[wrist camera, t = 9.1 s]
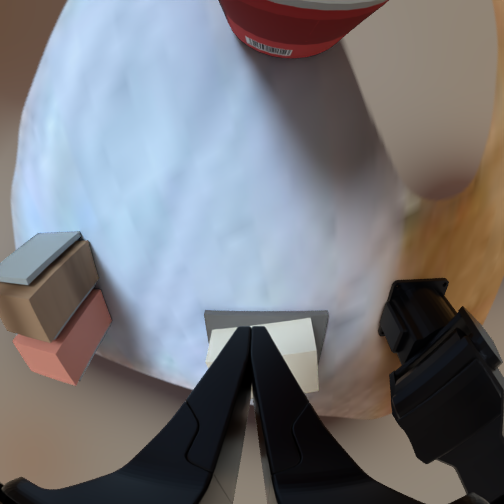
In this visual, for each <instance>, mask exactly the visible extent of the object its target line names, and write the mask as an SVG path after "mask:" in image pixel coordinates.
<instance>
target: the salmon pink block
mask: <svg viewBox="0 0 504 504" xmlns="http://www.w3.org/2000/svg"><path fill="white" fill-rule="evenodd" d="M111 322H112V319H111V317H110V314H109V312H108V309H107V306H106V303H105V300H104V298H103V295H102V292H101V289H92V290H91V292H90V293H89V294H88V296H87V297H86V298H85V299H84V301H83V302H82V303H81V305H80V306H79V307H78V309H77V310H76V311H75V313H74V314H73V315H72V317H71V318H70V320H69V321H68V322H67V324H66V325H65V327H64V328H63V329H62V331H61V332H60V334H59V335H58V337H57V338H56V339H55V340H53V341H52V342H51V343H48V342H45V341H41V340H37V339H33V338H30V337H26V336H23V335H20V334H17V336H16V337H15V338H14V339H13V343H14V344H15V346H16V348H17V349H18V351H19V353H20V354H21V356H22V357H23V359H24V360H25V362H26V363H27V365H28V366H29V368H30V369H31V370H32V371H33V372H35V373H38V374H41V375H44V376H47V377H50V378H53V379H56V380H59V381H62V382H65V383H68V384H72V385H75V386H76V385H77V383H78V381H79V379H80V377H81V375H82V373H83V371H84V369H85V367H86V366H87V364H88V362H89V360H90V358H91V356H92V355H93V353H94V351H95V349H96V347H97V346H98V344H99V342H100V340H101V339H102V337H103V335H104V333H105V332H106V330H107V328H108V327H109V325H110V323H111Z"/></svg>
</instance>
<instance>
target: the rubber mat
mask: <svg viewBox="0 0 504 504" xmlns="http://www.w3.org/2000/svg"><path fill="white" fill-rule="evenodd" d="M204 318H205V324H206V330H207V336H208V342H210V338H211V333H212V330H214V329H225V328H235V327H239V326H253V325H261V324H269V323H277V322H284V321H291V320H298V319H304V318H311V322H312V328H313V333H314V338H315V344H316V350H317V365H318V363H319V359H320V354H321V350H322V345H323V340H324V335H325V330H326V325H327V320H328V311H211V310H205V313H204Z"/></svg>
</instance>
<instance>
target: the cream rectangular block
mask: <svg viewBox="0 0 504 504" xmlns="http://www.w3.org/2000/svg"><path fill="white" fill-rule="evenodd" d="M253 326H265V327H266V329H267V330H268V332H269V334H270V336H271V337H272V339H273V341H274V343H275V344H276V346H277V348H278V350H279V351H280V353H281V355H282V356H283V358H284V360H285V362H286V363H287V365H288V367H289V368H290V370H291V372H292V374H293V375H294V377H295V379H296V380H297V382H298V384H299V385H300V387H301V389H302V390H303V392H304V393H310V392H317V391H319V386H318V365H317V350H316V344H315V338H314V333H313V328H312V322H311V318H304V319H298V320H291V321H284V322H277V323H269V324H261V325H253ZM253 326H250V327H251V328H252V327H253ZM236 329H237V327H235V328H225V329H214V330H212V333H211V338H210V342H209V347H208V352H207V357H206V364H207V366H208V368H209V367H210V366H211V364H212V363H213V362H214V360H215V359H216V357H217V356H218V354H219V353H220V352H221V350H222V349H223V347H224V346H225V344H226V343H227V342H228V340H229V339H230V337H231V336H232V334H233V333H234V332H235V330H236ZM251 399H253V393H252V392H251Z"/></svg>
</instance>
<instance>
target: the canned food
mask: <svg viewBox="0 0 504 504" xmlns="http://www.w3.org/2000/svg"><path fill="white" fill-rule="evenodd" d="M218 1H219V3H220V5H221V7H222V9H223V12H224V14H225V16H226V19H227V21H228V23H229V25H230V27H231V29H232V31H233V32H234V33H235V34H236V36H237V37H238V38H239V39H240V40H241V41H243V42H244V43H245V44H246V45H248V46H249V47H251V48H253V49H255V50H257V51H259V52H261V53H264V54H267V55H270V56H275V57H281V58H303V57H309V56H313V55H317V54H319V53H321V52H323V51H326V50H328V49H329V48H330V47H332V46H333V45H334V44H336V43H337V42H338V41H339V40H340V39H342V38H343V37H344V36H345V35H346V34H348V33H349V32H350V31H351V30H352V29H354V28H355V27H356V26H357V25H358V24H360V23H361V22H362V21H363V20H364V19H366V18H367V17H369V16H370V15H371V14H372V13H374V12H375V11H376V10H378V9H379V8H380V7H382V6H383V5H384V4H385V3H386V2H387V1H389V0H218Z"/></svg>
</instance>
